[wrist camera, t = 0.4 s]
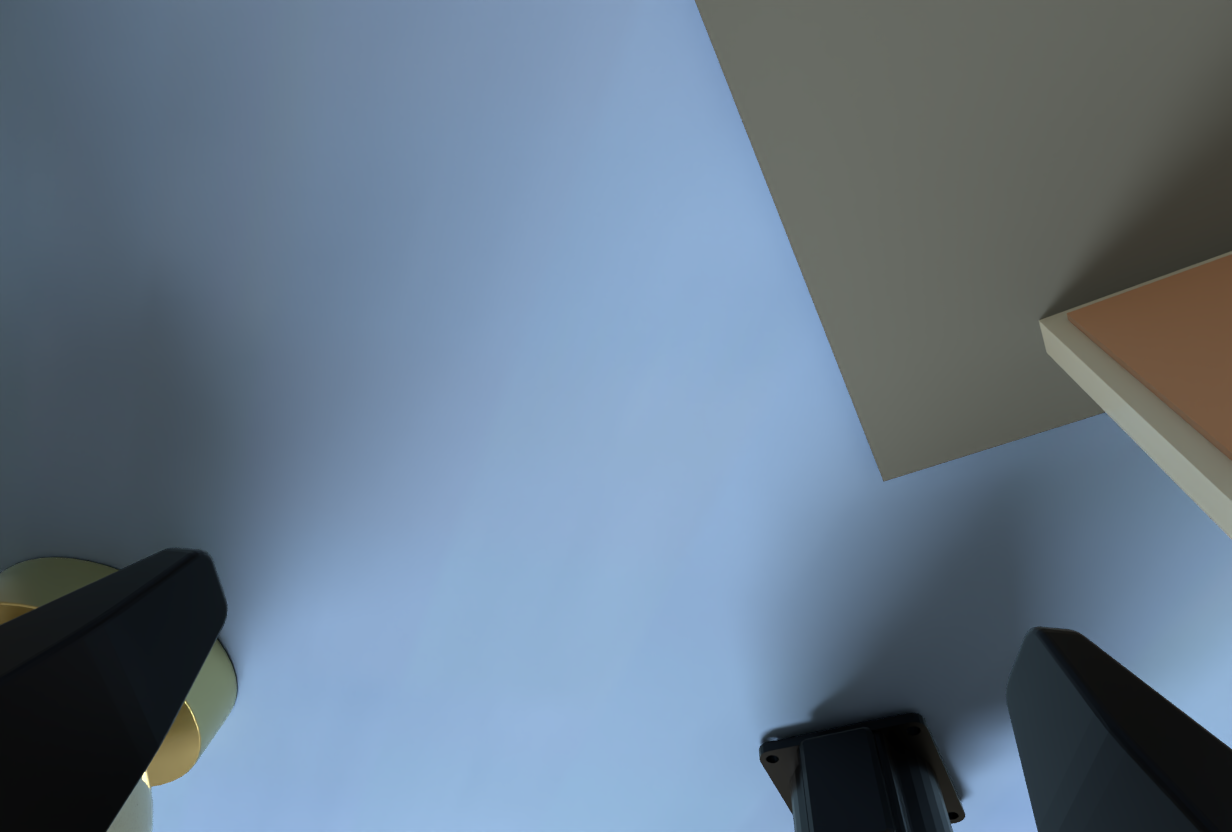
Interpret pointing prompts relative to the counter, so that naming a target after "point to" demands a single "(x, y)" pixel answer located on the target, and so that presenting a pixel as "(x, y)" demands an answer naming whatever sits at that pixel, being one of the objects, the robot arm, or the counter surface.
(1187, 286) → the tile
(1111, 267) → the mat
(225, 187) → the counter surface
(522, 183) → the counter surface
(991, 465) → the counter surface
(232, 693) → the lamp
